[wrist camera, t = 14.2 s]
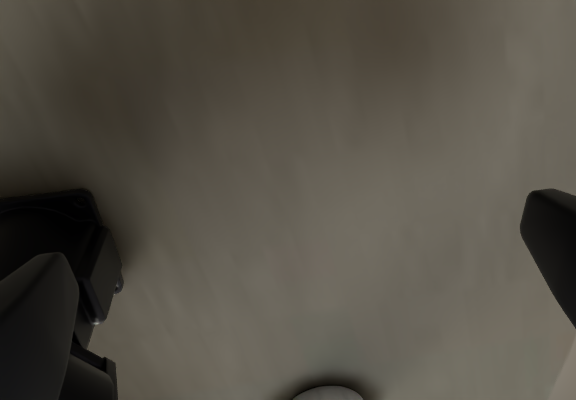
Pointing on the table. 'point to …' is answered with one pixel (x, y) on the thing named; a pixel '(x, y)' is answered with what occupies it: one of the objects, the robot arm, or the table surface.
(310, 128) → the table surface
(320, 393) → the cupcake
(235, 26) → the table surface
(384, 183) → the table surface
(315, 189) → the table surface
